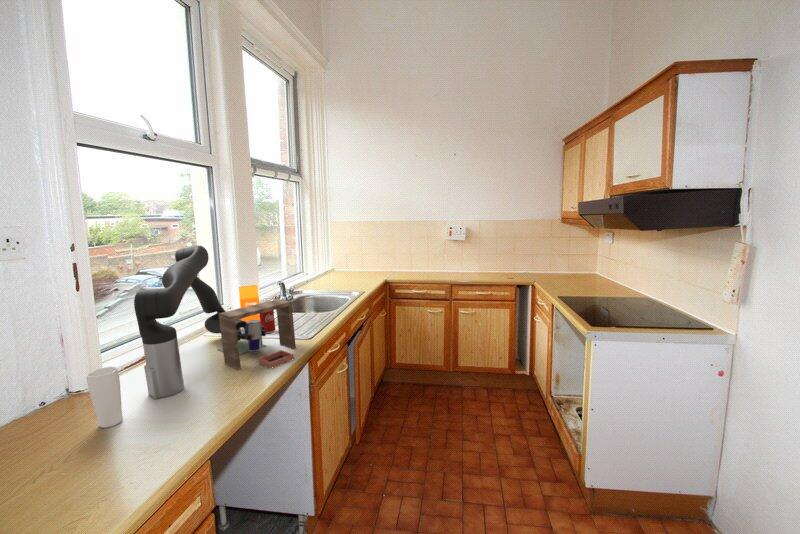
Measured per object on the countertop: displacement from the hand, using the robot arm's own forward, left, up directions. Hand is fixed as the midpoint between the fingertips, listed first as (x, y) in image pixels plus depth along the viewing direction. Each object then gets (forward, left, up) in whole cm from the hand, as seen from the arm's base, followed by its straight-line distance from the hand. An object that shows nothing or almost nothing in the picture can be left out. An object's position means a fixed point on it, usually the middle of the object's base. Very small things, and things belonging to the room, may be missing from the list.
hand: (257, 335), depth 150 cm
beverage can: (+18, +23, -8) cm, 30 cm away
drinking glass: (-51, -11, -8) cm, 53 cm away
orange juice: (+20, +41, -8) cm, 46 cm away
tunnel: (0, -1, -8) cm, 8 cm away
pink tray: (0, -11, -8) cm, 14 cm away
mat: (0, +14, -8) cm, 16 cm away
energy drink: (0, +3, -7) cm, 7 cm away
